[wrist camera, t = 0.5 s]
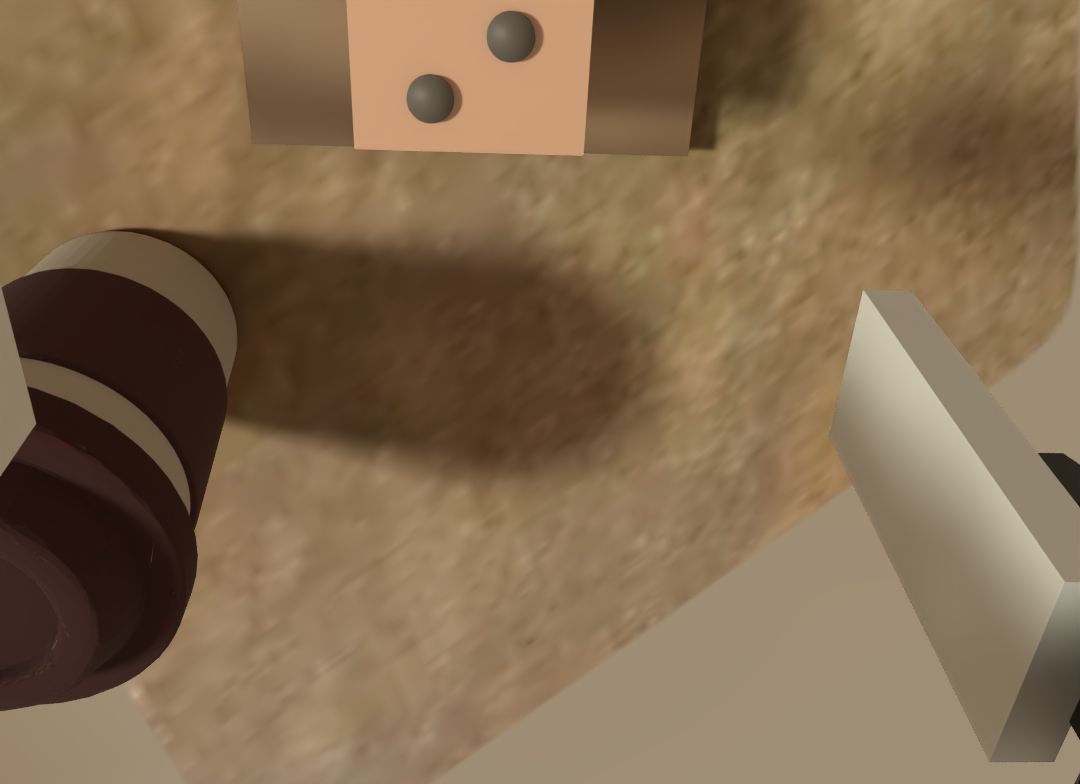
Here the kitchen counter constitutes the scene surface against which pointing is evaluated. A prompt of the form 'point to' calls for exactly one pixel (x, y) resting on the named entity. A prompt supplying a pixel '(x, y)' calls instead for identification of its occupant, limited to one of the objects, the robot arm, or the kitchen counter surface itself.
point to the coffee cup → (107, 461)
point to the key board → (613, 90)
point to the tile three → (470, 75)
